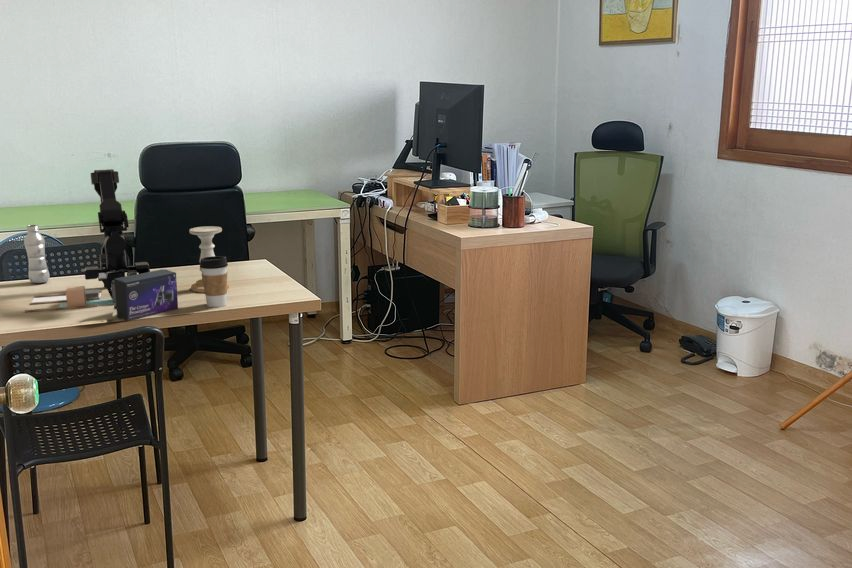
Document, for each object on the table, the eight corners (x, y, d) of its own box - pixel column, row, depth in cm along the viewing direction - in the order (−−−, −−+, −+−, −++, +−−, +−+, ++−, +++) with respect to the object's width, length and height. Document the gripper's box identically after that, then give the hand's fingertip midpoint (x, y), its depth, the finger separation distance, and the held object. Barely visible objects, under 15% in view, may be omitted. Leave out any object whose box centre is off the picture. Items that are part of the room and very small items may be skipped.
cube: (86, 301, 258) (84, 285, 256) (85, 305, 253) (83, 289, 252) (69, 302, 256) (67, 287, 255) (67, 306, 252) (65, 290, 250)
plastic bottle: (42, 285, 284) (35, 227, 279) (25, 284, 285) (17, 227, 280) (54, 280, 290) (47, 224, 285) (37, 280, 291) (29, 223, 286)
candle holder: (236, 287, 277) (232, 228, 272) (205, 295, 268) (200, 233, 263) (214, 282, 285) (210, 224, 280) (183, 289, 276) (178, 229, 271)
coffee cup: (216, 309, 251) (212, 261, 247) (196, 306, 255) (193, 258, 252) (236, 303, 258) (233, 256, 254) (217, 299, 262) (213, 253, 258)
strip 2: (129, 300, 262) (127, 278, 261) (128, 305, 256) (126, 283, 254) (61, 305, 257) (58, 283, 255) (58, 311, 250) (55, 289, 249)
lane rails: (102, 295, 270) (101, 290, 269) (97, 310, 252) (96, 305, 251) (35, 300, 264) (34, 295, 264) (25, 316, 246) (24, 311, 246)
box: (128, 322, 240) (124, 281, 237) (116, 317, 244) (112, 278, 241) (179, 309, 252) (176, 271, 249) (167, 305, 257) (163, 268, 254)
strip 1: (101, 295, 268) (100, 288, 268) (100, 301, 262) (99, 293, 261) (34, 301, 263) (33, 293, 262) (30, 306, 256) (29, 298, 256)
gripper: (144, 241, 265) (148, 288, 269) (81, 246, 258) (86, 294, 262) (147, 247, 255) (152, 296, 259) (82, 252, 248) (88, 303, 252)
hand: (120, 297), depth 258 cm, fingers closed on strip 2, 4 cm apart
